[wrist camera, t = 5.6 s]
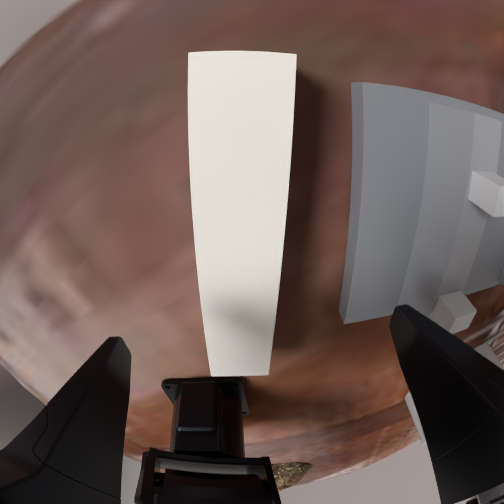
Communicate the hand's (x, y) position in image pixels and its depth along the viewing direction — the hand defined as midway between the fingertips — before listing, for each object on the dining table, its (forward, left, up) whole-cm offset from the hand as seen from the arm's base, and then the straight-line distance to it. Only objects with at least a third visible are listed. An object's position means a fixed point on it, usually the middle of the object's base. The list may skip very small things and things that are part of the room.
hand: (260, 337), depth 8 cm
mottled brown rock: (-49, 0, -7) cm, 50 cm away
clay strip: (0, 0, -7) cm, 7 cm away
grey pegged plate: (+1, -15, -6) cm, 16 cm away
